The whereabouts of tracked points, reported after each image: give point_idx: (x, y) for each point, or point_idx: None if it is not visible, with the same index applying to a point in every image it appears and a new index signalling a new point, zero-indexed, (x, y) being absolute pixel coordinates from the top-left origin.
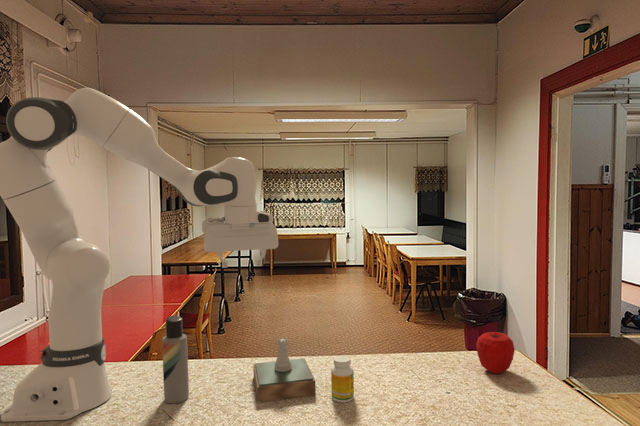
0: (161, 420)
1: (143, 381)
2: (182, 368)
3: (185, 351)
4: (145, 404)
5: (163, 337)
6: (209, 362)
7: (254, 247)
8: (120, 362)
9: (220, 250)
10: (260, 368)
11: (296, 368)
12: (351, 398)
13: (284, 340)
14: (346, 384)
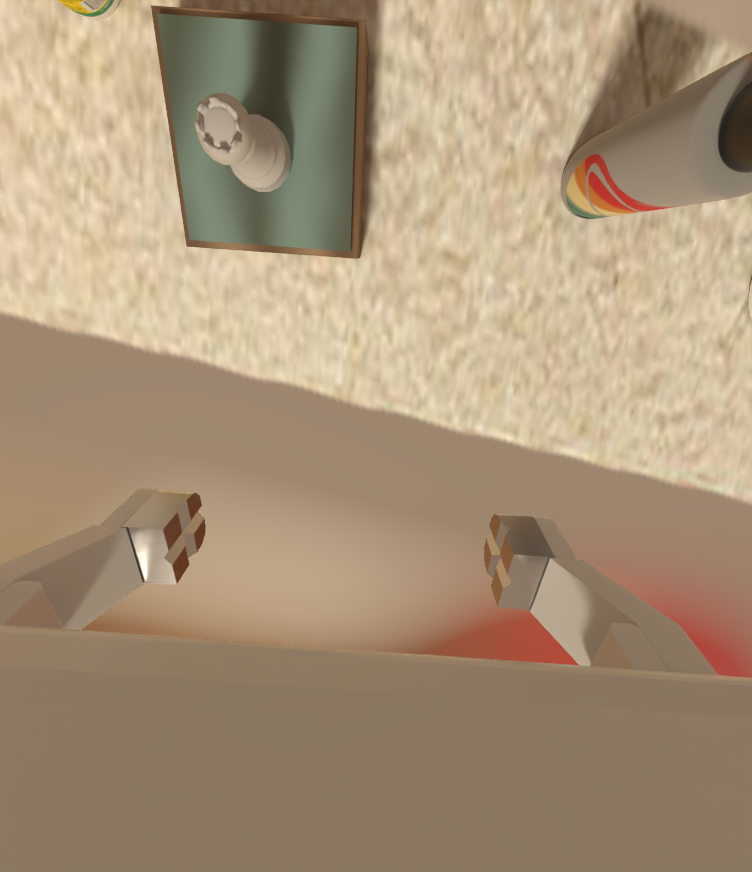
0: (671, 15)
1: (652, 338)
2: (643, 111)
3: (666, 108)
4: None
5: None
6: (464, 407)
7: (48, 662)
8: (676, 479)
9: (718, 684)
10: (338, 196)
11: None
12: None
13: (210, 114)
14: None
